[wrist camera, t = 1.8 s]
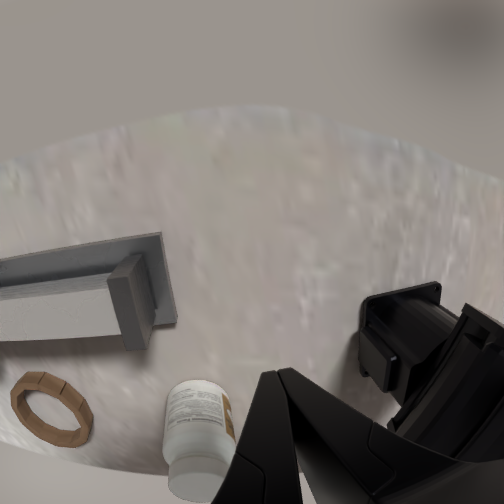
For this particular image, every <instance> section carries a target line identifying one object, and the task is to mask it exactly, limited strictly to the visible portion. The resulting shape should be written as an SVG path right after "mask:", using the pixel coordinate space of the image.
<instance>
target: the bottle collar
mask: <svg viewBox="0 0 504 504" xmlns="http://www.w3.org/2000/svg"><path fill="white" fill-rule="evenodd" d="M25 389H26V390H40V391H42V392H45V393H47V394H49V395H51V396H53V397H55V398H57V399H59V400H60V401H61V402H62V403H63V404H64V405H65V406H66V407H68V408H69V409H70V410H71V411H72V412H73V413H74V415H75V417H76V418H77V420H78V422H79V424H80V426H81V428H79V429H77V430H76V431H67V430H59V429H57V428H55V427H52V426H50V425H48V424H46V423H44V422H43V421H42V420H41V419H40V418H39V417H38V416H36V415H35V414H34V413H33V412H32V411H31V409H30V407H29V406H28V404H27V402H26V400H25V398H24V390H25ZM10 394H11V406H12V409H13V410H14V412H15V414H16V415H17V417H18V419H19V420H20V422H21V423H22V424H23V425H24V426H25V427H26V428H27V429H28V430H30V431H31V432H32V433H33V434H34V435H35V436H37V437H38V438H40V439H42V440H44V441H46V442H48V443H50V444H53V445H55V446H58V447H68V448H74V447H75V448H76V447H78V446H80V445H82V444H84V443H85V442H86V441H87V439H88V436H89V433H90V430H91V426H92V420H93V414H92V412H91V410H90V408H89V406H88V404H87V402H86V400H85V399H84V397H83V396H82V395H80V394H79V393H78V392H77V391H76V390H75V389H74V388H73V387H72V386H71V385H70V384H69V383H66V381H64V380H62V379H59V378H57V377H55V376H53V375H51V374H49V373H47V372H46V373H45V372H27V373H26V374H25V375H23V376H22V377H21V378H20V379H19V380H18V381H17V383H16V384H15V386H14V387H13V389H12V390H11V392H10Z"/></svg>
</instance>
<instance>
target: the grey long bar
mask: <svg viewBox="0 0 504 504" xmlns="http://www.w3.org/2000/svg"><path fill="white" fill-rule="evenodd" d="M155 318H156V313H155V308H154V304H153V300H152V295H151V291H150V286H149V282H148V277H147V272H146V268H145V263H144V258H143V254H139V255H132V256H125V257H124V259H123V260H122V261H121V262H120V263H119V265H118V266H117V267H116V268H115V269H114V271H113V272H112V273H105V274H97V275H90V276H83V277H75V278H68V279H61V280H54V281H46V282H39V283H32V284H24V285H17V286H10V287H2V288H0V341H23V340H47V339H65V338H81V337H94V336H107V335H118V334H121V335H122V338H123V341H124V344H125V347H126V351H132V350H143V349H147V345H148V342H149V338H150V335H151V331H152V328H153V324H154V321H155Z"/></svg>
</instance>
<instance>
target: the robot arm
mask: <svg viewBox="0 0 504 504" xmlns="http://www.w3.org/2000/svg"><path fill="white" fill-rule="evenodd" d="M435 287H436V289H435ZM434 289H435V290H434ZM441 290H442V286H441V284H440V283H438V282H436V281H434V282H430V283H425V284H421V285H417V286H413V287H409V288H404V289H400V290H395V291H391V292H386V293H382V294H377V295H373V296H369V297H367V298H366V299H365V301H364V306H363V327H362V328H361V330H360V341H359V356H358V360H359V361H360V370H359V371H360V374H361V375H362V376H363V377H369V376H371V377H372V379H373V380H374V381H375V383H376V384H377V385H378V387H379V388H380V390H381V391H382V392H384V393H388V392H390V393H391V394H392V396H393V397H394V398H395V400H396V401H397V402H398V404H399V405H400V406H401V409H400V410H399V411H398V413H397V414H396V415H395V417H394V418H391V420H390V421H389V422H388V423H387V428H388V429H386V428H385V427H383V426H381V425H380V424H378V423H376V422H373V420H371V419H370V418H368V417H366V416H365V415H363V414H362V413H360V412H358V411H357V410H355V409H354V408H352V407H350V406H349V405H347V404H346V403H344V402H343V401H341V400H340V399H338V398H336V397H335V396H333V395H332V394H330V393H329V392H327V391H326V390H324V389H323V388H321V387H320V386H318V385H317V384H315V383H314V382H312V381H311V380H309V379H308V378H306V377H305V376H303V375H302V374H300V373H299V372H297V371H296V370H295V369H293V368H291V367H289V368H284V369H279V370H277V372H276V371H275V370H273V371H267V372H263V373H261V376H260V379H259V382H258V385H257V388H256V391H255V394H254V397H253V400H252V403H251V406H250V409H249V412H248V415H247V418H246V421H245V424H244V427H243V430H242V433H241V436H240V439H239V442H238V444H237V447H236V450H235V454H234V455H233V458H232V461H231V464H230V466H229V469H228V471H227V474H226V476H225V478H224V481H223V482H222V484H221V486H220V488H219V490H218V492H217V494H216V496H215V497H214V499H213V501H212V502H211V504H303V500H302V493H301V486H300V479H299V472H298V465H297V459H298V461H299V464H300V466H301V469H302V471H303V473H304V475H305V478H306V480H307V482H308V485H309V487H310V489H311V492H312V494H313V496H314V498H315V501H316V503H317V504H504V324H502V323H500V322H499V321H497V320H495V319H494V318H492V317H490V316H489V315H487V314H485V313H483V312H482V311H480V310H478V309H476V308H474V307H473V306H471V305H469V304H467V303H465V305H464V307H463V309H462V314H461V316H460V317H458V316H456V315H455V314H453V313H452V312H450V311H449V310H448V309H446V308H445V307H443V306H442V305H440V298H441ZM371 302H373V305H372V306H370V303H371ZM296 457H297V458H296Z"/></svg>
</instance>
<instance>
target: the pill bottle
mask: <svg viewBox="0 0 504 504" xmlns="http://www.w3.org/2000/svg"><path fill="white" fill-rule="evenodd" d="M235 450H236V443H235V436H234V429H233V422H232V414H231V407H230V401H229V398H228V396H227V394H226V392H225V391H224V390H223V389H222V388H221V387H219V386H218V385H216V384H214V383H212V382H209V381H204V380H189V381H185V382H182V383H180V384H178V385H177V386H175V387H174V388H173V389H172V390H171V392H170V393H169V395H168V399H167V408H166V417H165V427H164V437H163V448H162V452H163V456H164V459H165V461H166V462H167V463H168V464H169V471H168V474H169V477H168V486H169V489H170V491H171V492H172V493H173V494H174V495H176V496H177V497H179V498H181V499H184V500H188V501H191V502H212V501H213V499H214V497H215V496H216V494H217V492H218V490H219V488H220V486H221V484H222V482H223V481H224V478H225V476H226V474H227V471H228V469H229V466H230V464H231V461H232V458H233V455H234V454H235Z"/></svg>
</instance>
